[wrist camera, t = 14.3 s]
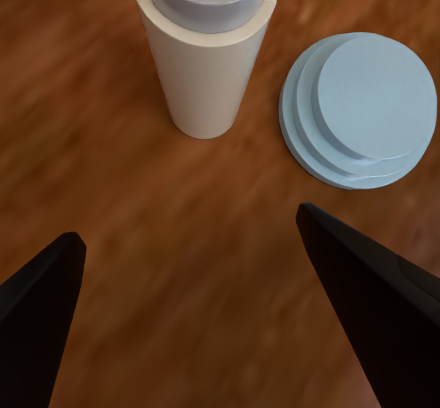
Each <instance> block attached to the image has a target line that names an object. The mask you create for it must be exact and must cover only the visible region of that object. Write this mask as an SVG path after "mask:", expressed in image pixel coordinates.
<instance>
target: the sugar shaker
mask: <svg viewBox="0 0 440 408" xmlns="http://www.w3.org/2000/svg"><path fill="white" fill-rule="evenodd" d="M276 2H277V0H136V4H137V7H138V10H139V14H140V17H141V20H142V23H143V27H144V30H145V33H146V37H147V40H148V43H149V47H150V50H151V53H152V57H153V60H154V63H155V66H156V70H157V73H158V76H159V80H160V83H161V86H162V90H163V93H164V96H165V100H166V103H167V106H168V109H169V113H170V116H171V118H172V120H173V122H174V123H175V125H176V126H177V127H178V128H179V129H180V130H181V131H182V132H184V133H185V134H187V135H189V136H191V137H194V138H199V139H211V138H215V137H218V136H220V135H222V134H223V133H225V132H226V131H227V130H228V129H229V128H230V127H231V126H232V125H233V123H234V121H235V119H236V117H237V114H238V111H239V108H240V105H241V102H242V100H243V97H244V94H245V91H246V88H247V85H248V82H249V80H250V77H251V74H252V71H253V68H254V65H255V62H256V60H257V57H258V54H259V51H260V48H261V45H262V42H263V40H264V37H265V34H266V31H267V28H268V25H269V22H270V20H271V17H272V14H273V11H274V8H275V5H276Z"/></svg>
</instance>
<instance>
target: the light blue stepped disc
mask: <svg viewBox="0 0 440 408" xmlns="http://www.w3.org/2000/svg"><path fill="white" fill-rule="evenodd" d="M278 113H279V123H280V127H281V131H282V134H283V137H284V140H285V142H286V144H287V146H288V148H289V150H290V152H291V153H292V155H293V156H294V157H295V159H296V160H297V161H298V162H299V163H300V165H301V166H302V167H303V168H304V169H305V170H307V171H308V172H309V173H310V174H311V175H313V176H314V177H316V178H317V179H319V180H321V181H323V182H325V183H327V184H329V185H332V186H335V187H338V188H343V189H349V190H364V189H371V188H376V187H381V186H385V185H387V184H390V183H393V182H395V181H396V180H398V179H400V178H402V177H403V176H404V175H406V174H407V173H408V172H409V171H410V170H411V169H412V168H413V167H414V166H415V165H416V164H417V163H418V161H419V160H420V159H421V157H422V156H423V154H424V152H425V150H426V148H427V146H428V144H429V142H430V140H431V138H432V135H433V133H434V129H435V124H436V116H437V96H436V90H435V86H434V82H433V80H432V77H431V75H430V73H429V71H428V69H427V68H426V66H425V65H424V63H423V62H422V61H421V59H420V58H419V57H418V56H417V55H416V54H415V53H414V52H413V51H412V50H410V49H409V48H408V47H406V46H405V45H403V44H401V43H399V42H398V41H395V40H393V39H390V38H387V37H384V36H381V35H378V34H374V33H366V32H354V33H345V34H338V35H333V36H330V37H327V38H325V39H322V40H320V41H318V42H316V43H315V44H313V45H312V46H310V47H309V48H308V49H307V50H305V51H304V52H303V53H302V54H301V55H300V56H299V58H298V59H297V60H296V61H295V63H294V64H293V66H292V68H291V69H290V71H289V73H288V74H287V76H286V78H285V80H284V83H283V85H282V89H281V92H280V97H279V110H278Z"/></svg>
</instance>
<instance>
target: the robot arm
mask: <svg viewBox="0 0 440 408" xmlns="http://www.w3.org/2000/svg"><path fill="white" fill-rule="evenodd" d="M296 223H297V226H298V229H299V232H300V235H301V238H302V240H303V243H304V246H305V249H306V252H307V254H308V256H309V258H310V260H311V263H312V265H313V267H314V269H315V271H316V273H317V275H318V277H319V279H320V281H321V283H322V285H323V287H324V289H325V292H326V294H327V296H328V298H329V300H330V302H331V304H332V306H333V308H334V310H335V312H336V314H337V316H338V318H339V321H340V323H341V325H342V327H343V329H344V331H345V333H346V335H347V337H348V339H349V341H350V343H351V345H352V348H353V350H354V352H355V354H356V356H357V358H358V360H359V362H360V364H361V366H362V369H363V371H364V373H365V375H366V377H367V379H368V381H369V383H370V385H371V387H372V389H373V391H374V393H375V395H376V398H377V400H378V402H379V404H380V406H381V408H440V278H438V277H436V276H434V275H432V274H430V273H429V272H427V271H425V270H423V269H421V268H420V267H418V266H416V265H415V264H413V263H411V262H409V261H408V260H406V259H404V258H403V257H401V256H399V255H398V254H395V253H394V252H392V251H391V250H389V249H387V248H386V247H384V246H382V245H381V244H379V243H377V242H376V241H374V240H372V239H371V238H369V237H367V236H366V235H364V234H362V233H361V232H359V231H357V230H356V229H354V228H352V227H351V226H349V225H347V224H346V223H344V222H342V221H341V220H339V219H337V218H336V217H334V216H332V215H331V214H329V213H327V212H326V211H324V210H322V209H321V208H319V207H317V206H316V205H314V204H312V203H310V202H307V203H301V204H300V205H299V208H298V211H297V215H296ZM85 257H86V245H85V243H84V242H83V240H82V239H81V237H80V236H79V235H78V233H76V232H66V233H63V234H61V235H60V236H59V237H58V238H56V239H55V240H54V241H53V242H52V243H51V244H49V245H48V246H47V247H46V248H45V249H43V250H42V251H41V252H40V253H39V254H37V255H36V256H35V257H34V258H33V259H31V260H30V261H29V262H28V263H27V264H25V265H24V266H23V267H22V268H21V269H19V270H18V271H17V272H16V273H15V274H13V275H12V276H11V277H10V278H9V279H7V280H6V281H5V282H4V283H3V284H1V285H0V408H48V406H49V403H50V399H51V395H52V392H53V388H54V384H55V381H56V377H57V373H58V370H59V366H60V362H61V359H62V355H63V351H64V348H65V344H66V340H67V337H68V333H69V329H70V325H71V322H72V318H73V314H74V311H75V307H76V303H77V300H78V296H79V292H80V288H81V283H82V277H83V271H84V264H85Z"/></svg>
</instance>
